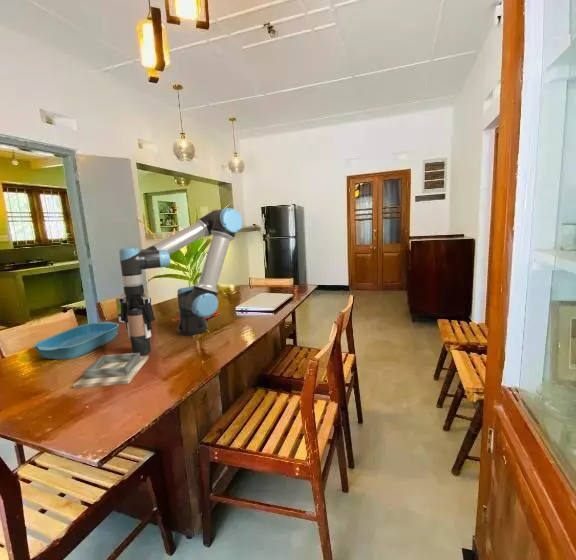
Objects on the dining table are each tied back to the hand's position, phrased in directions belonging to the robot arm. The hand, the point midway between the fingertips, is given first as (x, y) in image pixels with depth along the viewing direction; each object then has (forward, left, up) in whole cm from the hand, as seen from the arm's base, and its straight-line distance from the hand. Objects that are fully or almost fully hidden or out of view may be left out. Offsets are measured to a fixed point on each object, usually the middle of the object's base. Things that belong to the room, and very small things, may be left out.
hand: (140, 336), depth 139 cm
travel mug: (0, 0, -7) cm, 7 cm away
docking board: (+4, +18, -7) cm, 20 cm away
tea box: (+25, -60, -8) cm, 65 cm away
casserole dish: (+31, -14, -8) cm, 35 cm away
